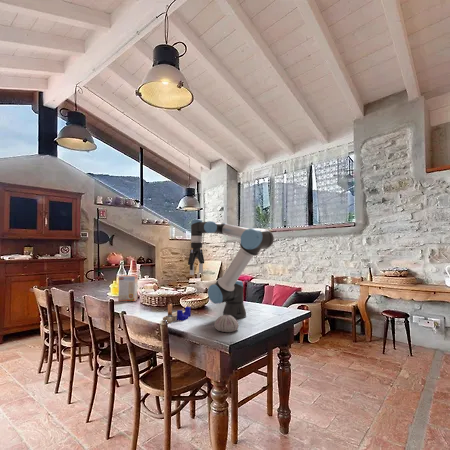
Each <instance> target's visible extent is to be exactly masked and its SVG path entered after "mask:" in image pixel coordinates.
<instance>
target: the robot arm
mask: <svg viewBox="0 0 450 450" xmlns="http://www.w3.org/2000/svg"><path fill="white" fill-rule="evenodd" d="M190 223H191V224H190V242H191V243H190V248H191V249H190V252H189V257H188V260H187V261H188V262H187V265H188V266H189V276H194V275H195V265H194V264H195V261H196V258H197V260H198V262H199V263H198V273H199V274H204V264H205V258H204V253H203V249H202V248H203V234H219V235H224V236H228V237H232V238H236V239H240V243H239V247H240V248H239V250H238V252H236V254H235V256H234V258H233V259H232V261H231V262H230V264H229V266H228V267H227V269H226V271H225V272H224V273H223V275H222V276H221V277H218V279H217V280H216V282H215V283H213V284H211V285H209V287H208V289H207V294H208V295H207V296H208V299H209V300H210V301H211V302H212V303H213V304H223V303H224V304H225V305H224V308H223V311H222V316H223V315H231V316H233V317H234V318H235V319H236V320H237V319H243V318H246V317H247V311H246V309H245V305H244V282H243V281H242V280H239V278H241V277H240V276H241V275H242V273H243V272H244V271H245V269H246V268H247V266H248V265H249V263H250V262H251V260H252V258H253V257H256V256H258V254H259V252H260V251H261V250H266V249H269V248H271V246H272V245H273V244H274V242H275V241H274V240H275V238H274V237H275V236H274V234H273V232H272V231H270V230H269V229H265V228H256V227H252V228H247V227H243V226H239V225H238V226H237V225H233V224H230V223H229V224H228V223H225V222H215V221H210V220H208V221H203V220H202V219H200V218H199V219H198V218H197V219H191V221H190Z"/></svg>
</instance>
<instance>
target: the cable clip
mask: <svg viewBox="0 0 450 450" xmlns="http://www.w3.org/2000/svg"><path fill="white" fill-rule="evenodd" d="M191 308H192V307H191V306H185V309H184V310H181V309H178V310H176V312H177V320H176V321H180V320H181V321H182V322H184V321H186V320H188V319H189V318H190V317H191V314H192V311H191ZM183 311H185V312H184V314H183Z"/></svg>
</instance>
